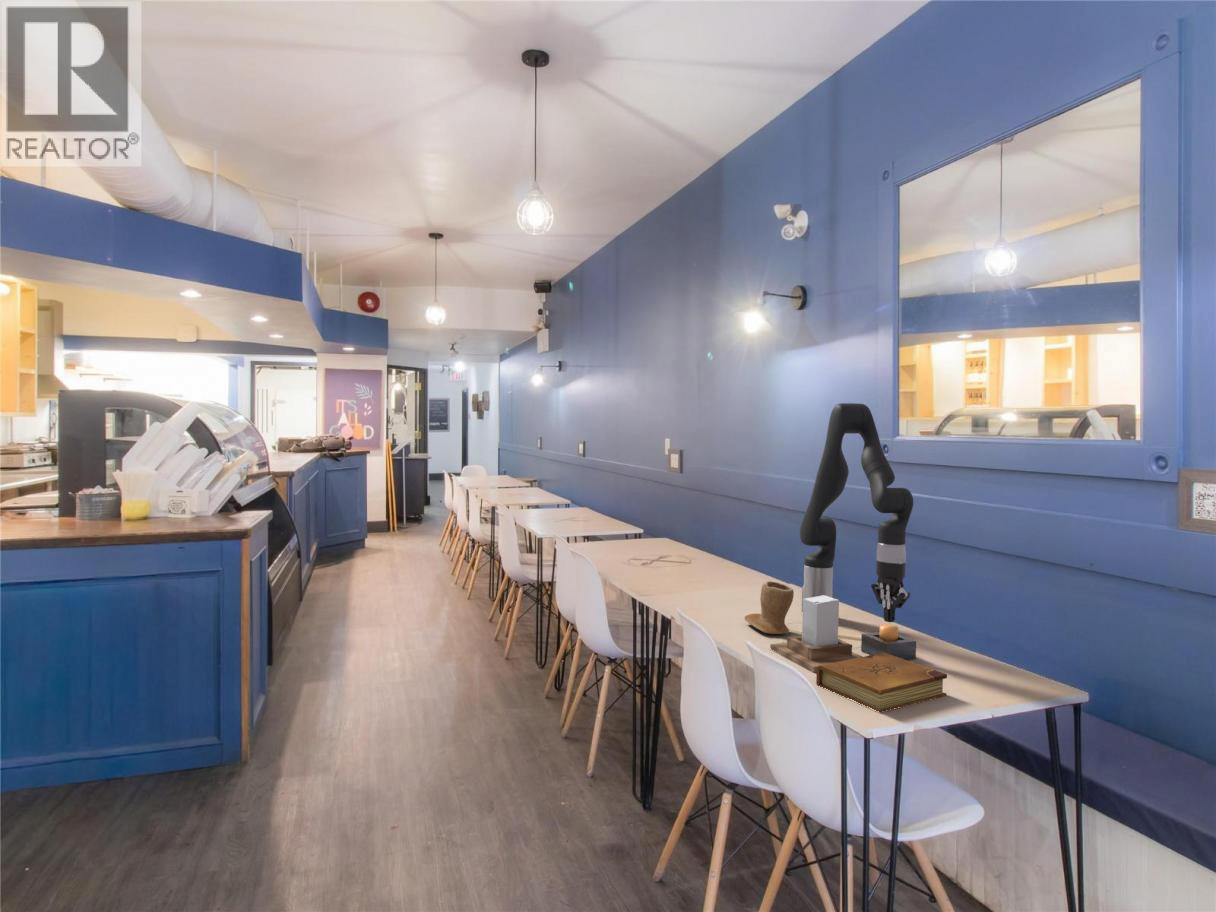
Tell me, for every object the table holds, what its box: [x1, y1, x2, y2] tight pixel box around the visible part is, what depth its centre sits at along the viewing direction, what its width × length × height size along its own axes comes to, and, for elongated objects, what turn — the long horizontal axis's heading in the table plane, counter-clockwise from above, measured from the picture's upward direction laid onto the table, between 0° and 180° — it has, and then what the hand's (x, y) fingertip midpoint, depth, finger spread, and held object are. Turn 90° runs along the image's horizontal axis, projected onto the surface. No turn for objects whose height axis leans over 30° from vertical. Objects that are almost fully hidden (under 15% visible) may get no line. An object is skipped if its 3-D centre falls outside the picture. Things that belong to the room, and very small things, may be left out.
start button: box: [878, 623, 899, 641], centre depth 193 cm, size 5×5×4 cm
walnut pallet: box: [769, 635, 864, 674], centre depth 190 cm, size 20×18×4 cm
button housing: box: [860, 631, 917, 661], centre depth 193 cm, size 10×10×5 cm
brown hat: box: [743, 580, 795, 635], centre depth 216 cm, size 15×12×15 cm
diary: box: [815, 653, 948, 713], centre depth 166 cm, size 23×19×6 cm
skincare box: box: [801, 595, 840, 647], centre depth 189 cm, size 8×6×15 cm
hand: (889, 621), depth 192 cm, fingers closed
